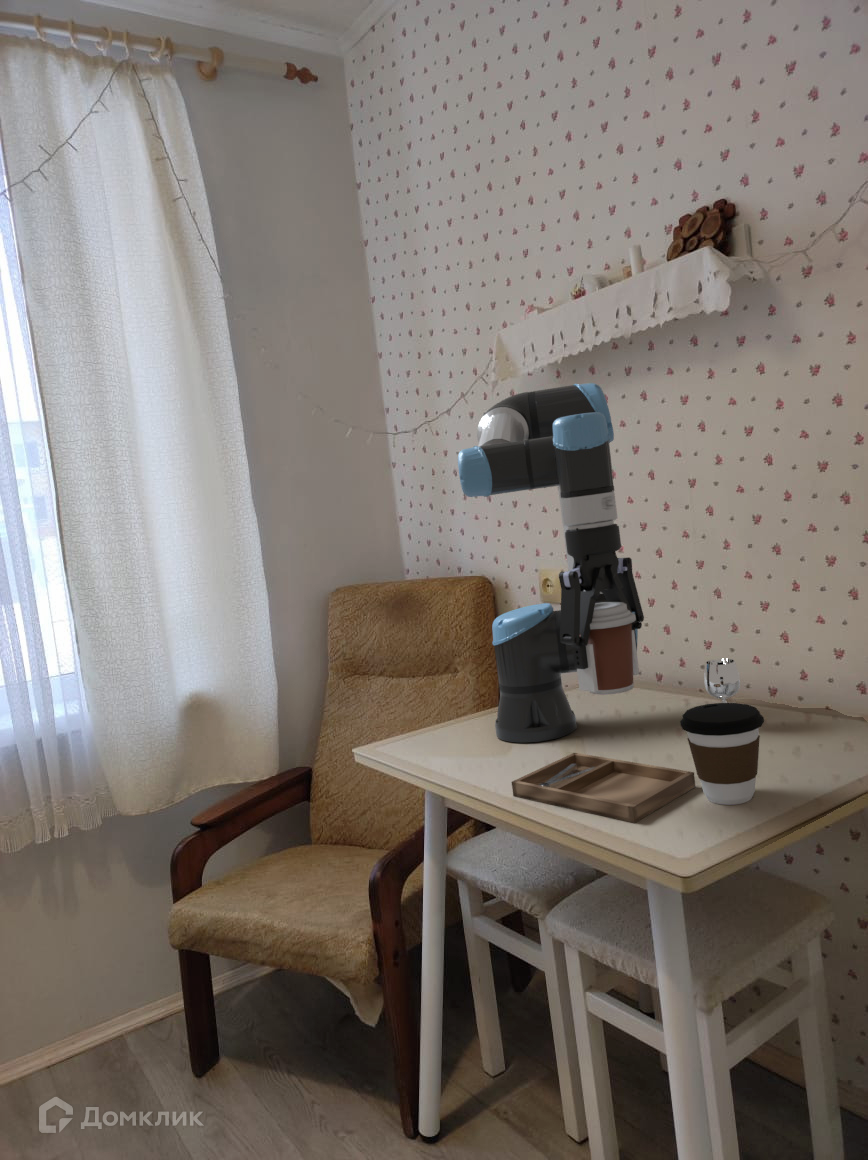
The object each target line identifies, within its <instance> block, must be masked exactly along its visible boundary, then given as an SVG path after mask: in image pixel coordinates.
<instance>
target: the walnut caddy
mask: <svg viewBox="0 0 868 1160" xmlns="http://www.w3.org/2000/svg"><path fill="white" fill-rule="evenodd" d="M571 764H577V771H575V772H574V773H573V774H575V773H578V772H580V771H583V770H586V769H589V768H592V767H595V768H593V769H591V770H589V771H587V772H585V773H583V774H581V775H579V776H577V777H575V778H573V779H571V780H569V781H567V782H565V783H563V784H561V785H559V786H557V787H555V788H550V787H546V786H541V785H539V784H541V783H545V782H547V781H548V780H550V779H551V778H552V777H554V776H555V775H557V774H558V773H559V772H561V771H562V770H564V769H565V768H566V767H568V766H569V765H571ZM571 775H572V774H571ZM695 788H696V777H695V772H694V771H688V770H684V769H683V770H681V769H675V768H670V767H664V766H658V765H652V764H651V765H650V764H646V763H640V762H633V761H628V760H621V759H614V758H609V757H603V756H597V755H591V754H584V753H578V752H573V753H570V754H568V755H567V756H564V757H562V758H560V759H558V760H556V761H553V762H551V763H549V764H546V765H545V766H543V767H540V768H539V769H537V770H534V771H532V772H530V773H528V774H525V775H523V776H521V777H519V778H517V779H514V780H513V781H511V789H512V796H513V797H517V798H521V799H525V800H529V801H535V802H540V803H543V804H548V805H553V806H557V807H561V808H565V809H570V810H574V811H578V812H584V813H588V814H591V815H592V814H593V815H597V816H602V817H606V818H610V819H614V820H620V821H623V822H629V823H633V824H635V823H637V822H639V821H641V820H642V819H644V818H645V817H647V816H649V815H650V814H652V813H654V812H655V811H657V810H659V809H661V808H663V807H664V806H666V805H667V804H669V803H672V802H673V801H674V800H676V799H678V798H679V797H681V796H683V795H684V794H686V793H688V792H690V791H691V790H693V789H695Z"/></svg>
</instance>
